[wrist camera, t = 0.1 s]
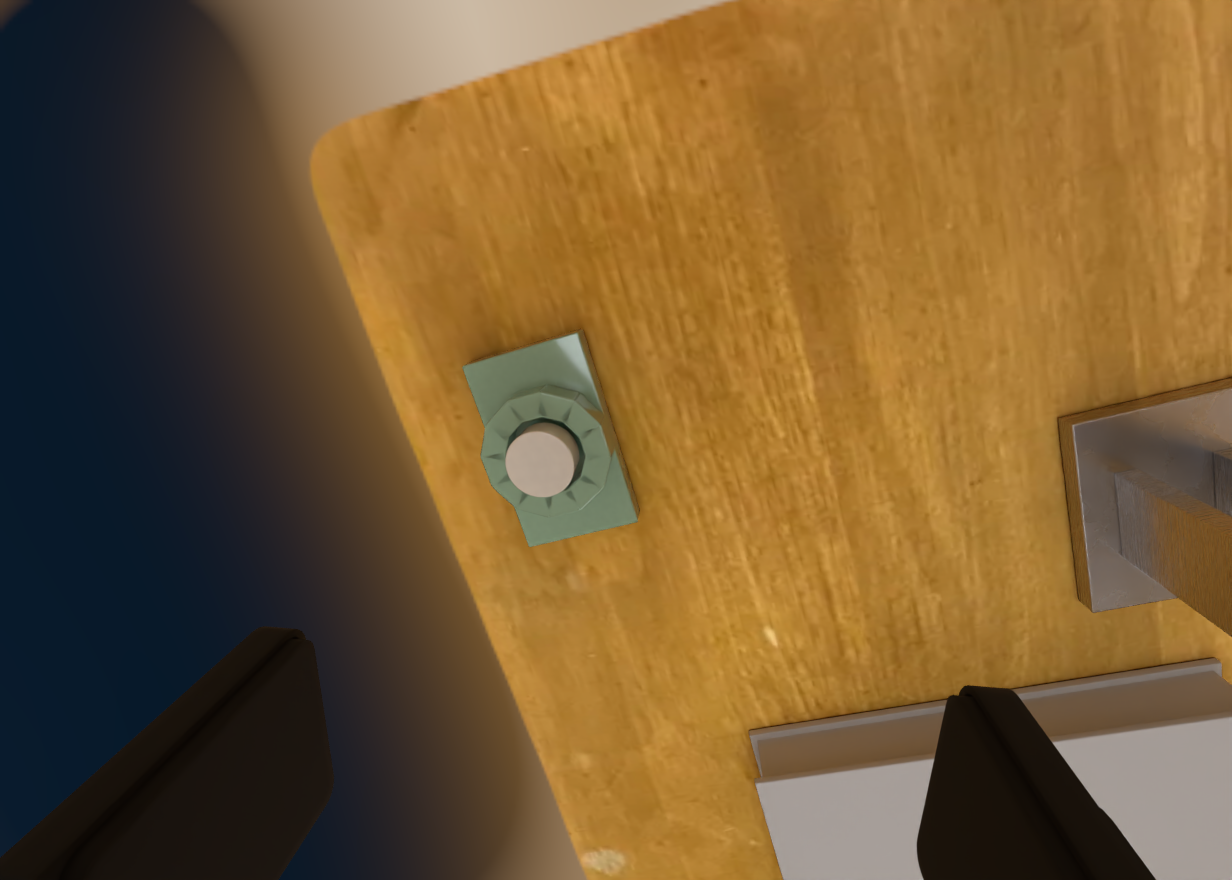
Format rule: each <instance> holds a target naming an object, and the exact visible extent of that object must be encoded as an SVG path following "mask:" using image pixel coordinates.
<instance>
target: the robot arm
mask: <svg viewBox="0 0 1232 880" xmlns="http://www.w3.org/2000/svg"><path fill="white" fill-rule="evenodd" d="M333 783H334V774H333V768H332V762H331V754H330V748H329V742H328V735H327V728H326V721H325V715H324V708H323V702H322V695H321V688H320V682H319V676H318V669H317V662H316V656H315V649H314V646H313V643H312V642H311V641H309V640H306V638H305V635H304V634H303V633H302V631H300V630H298V629H289V628H288V629H287V628H277V627H260V628H258V629H256V630H255V631H253V632H252V633H251V634H250V635H249V636H248V637H246V639H244V640H243V641H242V642H241V643H240V644H239V645H237V646H236V647H235V648H234V649H233V650H232V651H231V652H230V653H229V654H227V655H226V656H225V657H224V658H223V659H222V660H221V661H220V662H219V663H217V664H216V665H215V666H214V667H213V668H212V669H211V670H210V671H208V672H207V673H206V674H205V675H204V676H203V677H202V678H201V679H200V680H198V681H197V682H196V683H195V684H194V685H193V686H192V687H191V688H189V689H188V690H187V691H186V692H185V693H184V694H183V695H182V696H181V697H179V698H178V699H177V700H176V701H175V702H174V703H173V704H172V705H171V706H169V707H168V708H167V709H166V710H165V711H164V712H163V713H162V714H161V715H159V716H158V717H157V718H156V719H155V720H154V721H153V722H151V723H150V724H149V725H148V726H147V727H146V728H145V729H144V730H143V731H141V732H140V733H139V734H138V735H137V736H136V737H135V738H134V739H133V740H131V741H130V742H129V743H128V744H127V745H126V746H125V747H124V748H122V749H121V750H120V751H119V752H118V753H117V754H116V755H115V756H114V757H112V758H111V759H110V760H109V761H108V762H107V763H106V764H105V765H103V766H102V767H101V768H100V769H99V770H98V771H97V772H96V773H95V774H93V775H92V776H91V777H90V778H89V779H88V780H87V781H86V782H84V783H83V784H82V785H81V786H80V787H79V788H78V789H77V790H76V791H74V792H73V793H72V794H71V795H70V796H69V797H68V798H67V799H65V800H64V801H63V802H62V803H61V804H60V805H59V806H58V807H57V808H56V809H55V810H53V811H52V812H51V813H50V814H49V815H48V816H46V817H45V818H44V819H43V820H42V821H41V822H40V823H39V824H38V825H36V827H34V828H33V829H32V830H31V831H30V832H29V833H27V834H26V835H25V836H24V837H23V838H22V839H21V840H20V841H19V842H18V843H16V844H15V845H14V846H13V847H12V848H11V849H10V850H8V852H6V853H5V854H4V855H3V856H2V857H1V858H0V880H278V879H279V878H280V876H281V874H282V873H283V871H284V870H285V868H286V867H287V865H288V864H289V862H290V861H291V859H292V857H293V856H294V854H295V853H296V851H297V850H298V848H299V847H300V845H301V843H302V842H303V840H304V839H305V837H306V836H307V834H308V833H309V831H310V829H311V828H312V826H313V825H314V823H315V822H316V820H317V819H318V817H319V815H320V814H321V812H322V811H323V809H324V808H325V806H326V804H327V802H328V801H329V798H330V796H331V793H332V788H333ZM917 858H918V863H919V868H920V871H921V874H922V877H923V879H924V880H1156V879H1155V877H1154V876H1153V875H1152V873H1151V872H1150V871H1149V869H1148V868H1147V866H1146V865H1145V864H1144V862H1143V861H1142V860H1141V858H1140V857H1139V856H1138V854H1137V853H1136V852H1135V850H1134V849H1133V847H1132V846H1131V845H1130V843H1129V842H1128V841H1127V839H1126V838H1125V837H1124V835H1123V834H1122V832H1121V831H1120V830H1119V828H1118V827H1117V826H1116V824H1115V823H1114V822H1113V820H1112V819H1111V818H1110V817H1109V816H1108V815H1107V814H1106V813H1105V811H1104V810H1103V809H1102V808H1100V807H1099V806H1098V805H1097V803H1096V802H1095V801H1094V799H1093V798H1092V796H1091V795H1090V794H1089V792H1088V791H1087V790H1086V788H1085V787H1084V785H1083V784H1082V783H1081V781H1080V780H1079V779H1078V777H1077V776H1076V775H1075V773H1074V772H1073V770H1072V769H1071V768H1070V766H1069V765H1068V764H1067V762H1066V761H1065V759H1064V758H1063V757H1062V755H1061V754H1060V753H1059V751H1058V750H1057V748H1056V747H1055V746H1054V744H1053V743H1052V742H1051V740H1050V739H1049V737H1048V736H1047V735H1046V733H1045V732H1044V731H1043V729H1042V728H1041V726H1040V725H1039V724H1038V722H1037V721H1036V720H1035V718H1034V717H1033V715H1032V714H1031V713H1030V711H1029V710H1028V709H1027V707H1026V706H1025V704H1024V703H1023V702H1022V700H1021V699H1020V698H1019V696H1018V695H1017V694H1016V693H1015V692H1014V691H1012V690H1010V689H1005V688H993V687H981V686H969V685H968V686H964V687H963V688H962V689H961V691H960V694H959V696H957V695H952V696H950V697H949V698H948V699H947V702H946V706H945V711H944V716H943V720H942V725H941V730H940V734H939V739H938V744H937V748H936V753H935V758H934V762H933V767H932V772H931V776H930V781H929V786H928V790H927V795H926V800H925V804H924V809H923V814H922V818H921V823H920V828H919V832H918V837H917Z"/></svg>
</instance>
